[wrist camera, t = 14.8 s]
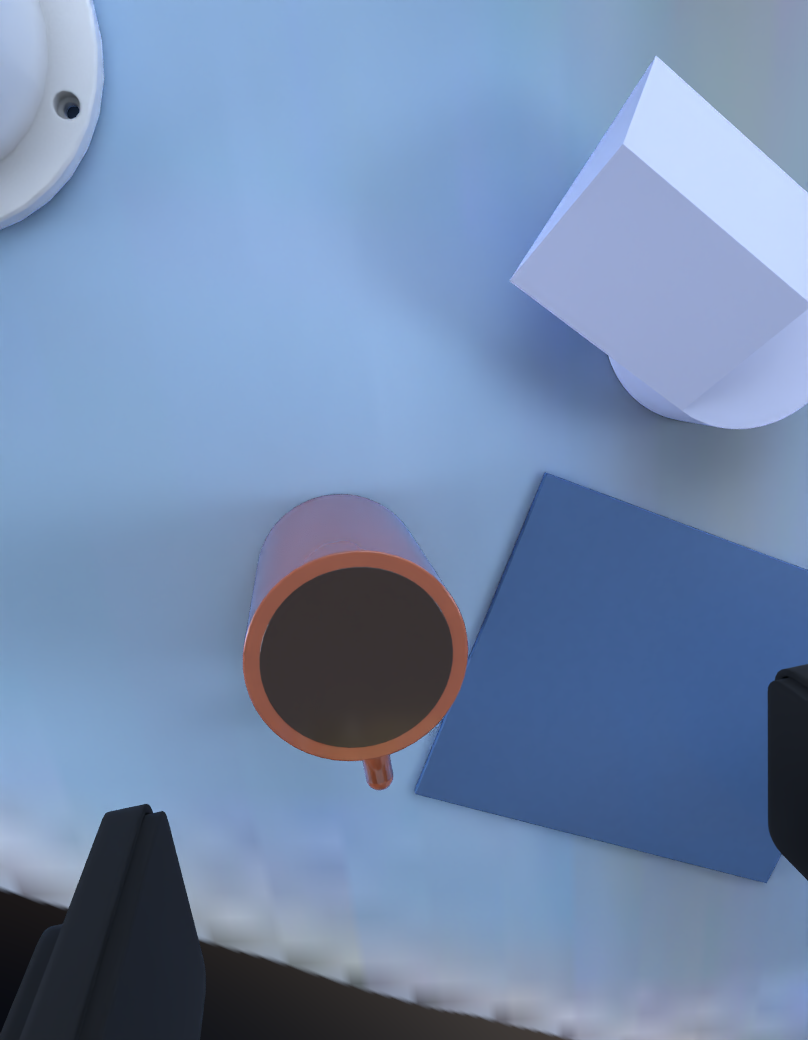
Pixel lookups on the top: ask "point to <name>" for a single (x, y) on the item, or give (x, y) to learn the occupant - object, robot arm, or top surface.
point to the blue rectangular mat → (626, 684)
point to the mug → (351, 635)
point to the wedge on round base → (683, 262)
